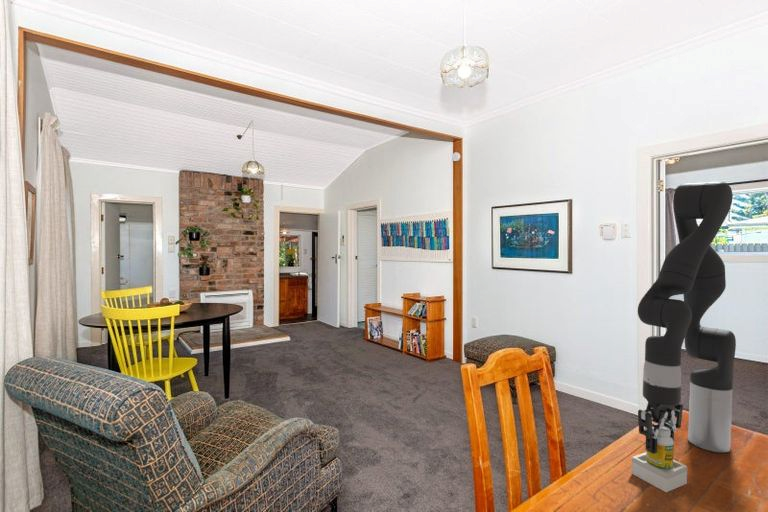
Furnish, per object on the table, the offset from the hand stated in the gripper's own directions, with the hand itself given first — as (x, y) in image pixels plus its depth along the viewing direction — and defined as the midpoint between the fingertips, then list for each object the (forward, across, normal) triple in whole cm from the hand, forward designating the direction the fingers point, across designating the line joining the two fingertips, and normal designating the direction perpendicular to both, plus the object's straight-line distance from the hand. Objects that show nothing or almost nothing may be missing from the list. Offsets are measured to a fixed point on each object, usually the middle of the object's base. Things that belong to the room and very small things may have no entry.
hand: (659, 448), depth 95 cm
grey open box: (+7, 0, 0) cm, 7 cm away
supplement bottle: (+5, 0, 0) cm, 5 cm away
